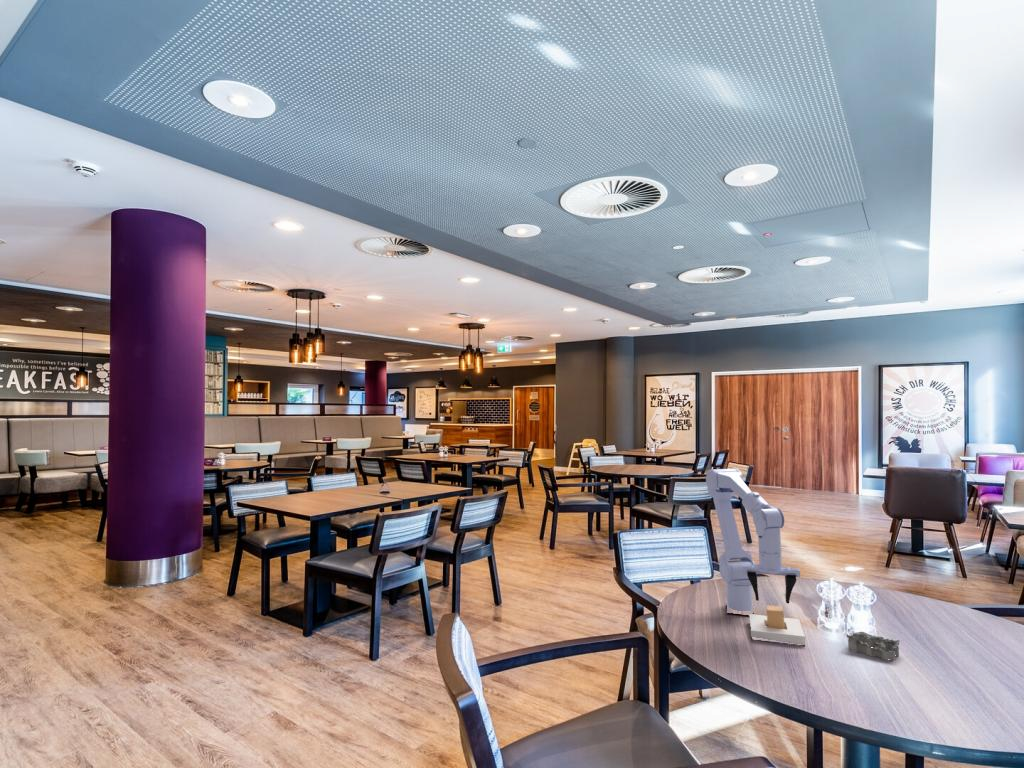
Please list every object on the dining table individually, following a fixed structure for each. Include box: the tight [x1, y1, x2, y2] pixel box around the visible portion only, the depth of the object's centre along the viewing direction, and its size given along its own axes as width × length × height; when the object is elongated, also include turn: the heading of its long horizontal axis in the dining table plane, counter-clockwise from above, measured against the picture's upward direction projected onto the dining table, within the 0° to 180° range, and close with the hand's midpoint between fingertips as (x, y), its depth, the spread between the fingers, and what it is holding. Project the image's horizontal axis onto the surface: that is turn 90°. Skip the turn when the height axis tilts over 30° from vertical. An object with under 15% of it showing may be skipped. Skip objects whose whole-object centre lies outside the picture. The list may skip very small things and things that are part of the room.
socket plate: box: [748, 613, 806, 646], centre depth 153 cm, size 13×13×2 cm
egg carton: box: [846, 631, 900, 661], centre depth 141 cm, size 11×8×4 cm
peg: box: [766, 604, 785, 629], centre depth 153 cm, size 4×4×7 cm
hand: (772, 600), depth 154 cm, fingers open, 7 cm apart
